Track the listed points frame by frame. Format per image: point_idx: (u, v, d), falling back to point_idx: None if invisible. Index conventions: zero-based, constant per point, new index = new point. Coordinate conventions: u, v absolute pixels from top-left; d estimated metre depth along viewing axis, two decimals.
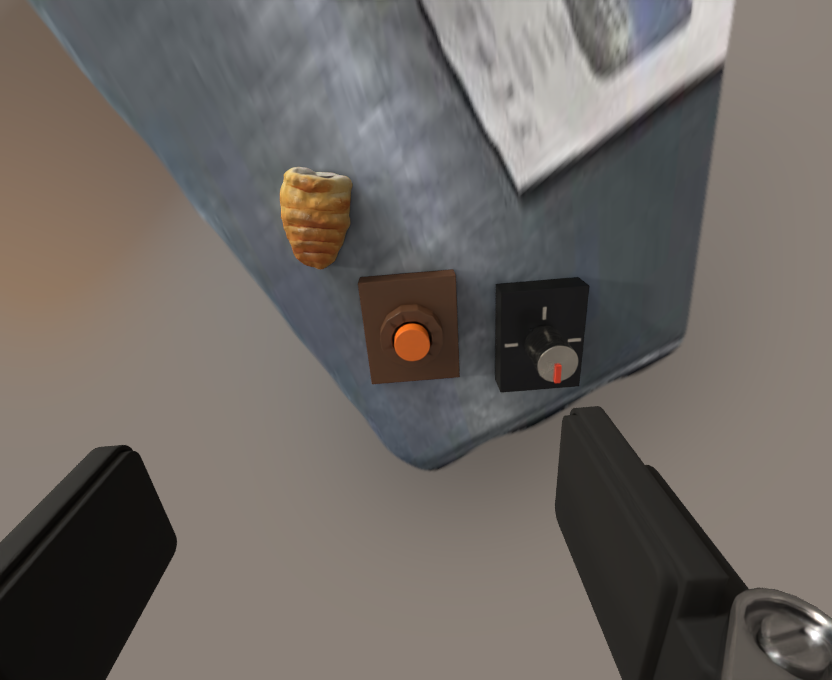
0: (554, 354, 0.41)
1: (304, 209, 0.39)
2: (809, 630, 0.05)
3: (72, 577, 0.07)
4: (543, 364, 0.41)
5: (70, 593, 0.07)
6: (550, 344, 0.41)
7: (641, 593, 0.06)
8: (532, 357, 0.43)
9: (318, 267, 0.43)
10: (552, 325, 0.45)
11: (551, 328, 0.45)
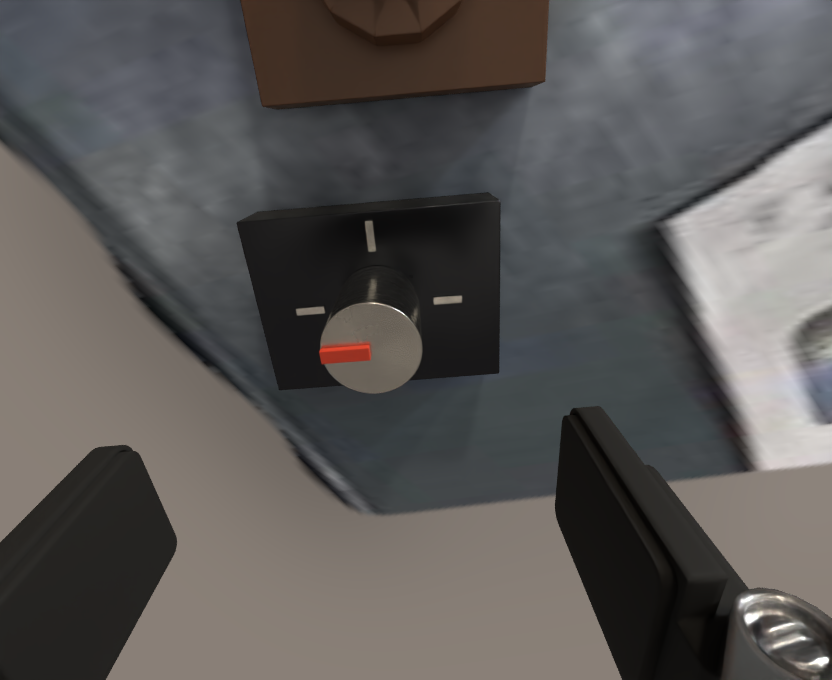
0: (399, 338, 0.16)
1: None
2: (809, 630, 0.05)
3: (72, 577, 0.07)
4: (371, 315, 0.16)
5: (70, 593, 0.07)
6: (418, 325, 0.17)
7: (641, 593, 0.06)
8: (368, 287, 0.17)
9: None
10: None
11: None
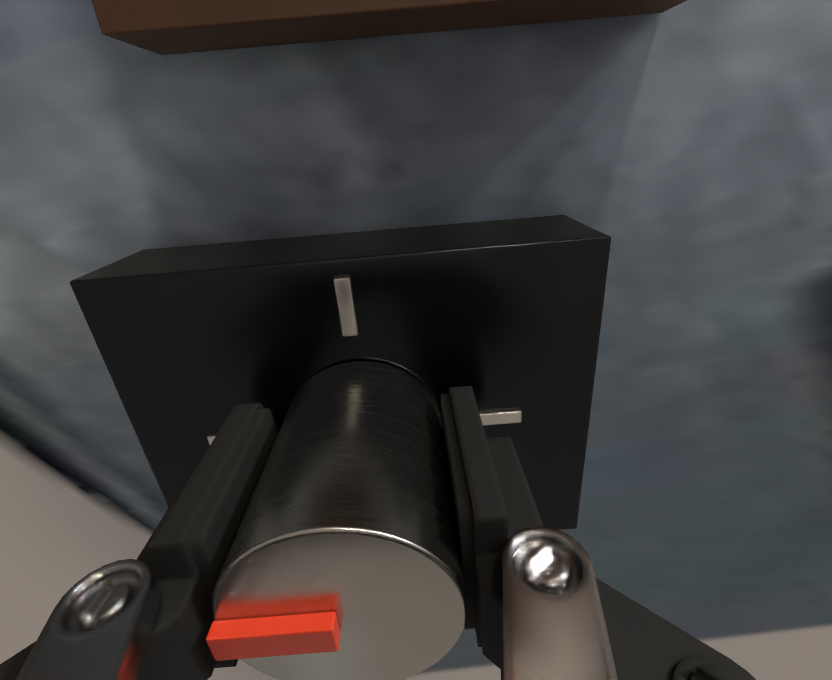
0: (410, 598, 0.07)
1: None
2: (555, 549, 0.06)
3: (243, 509, 0.08)
4: (339, 556, 0.06)
5: None
6: (454, 547, 0.07)
7: (459, 537, 0.07)
8: (337, 446, 0.08)
9: None
10: None
11: None
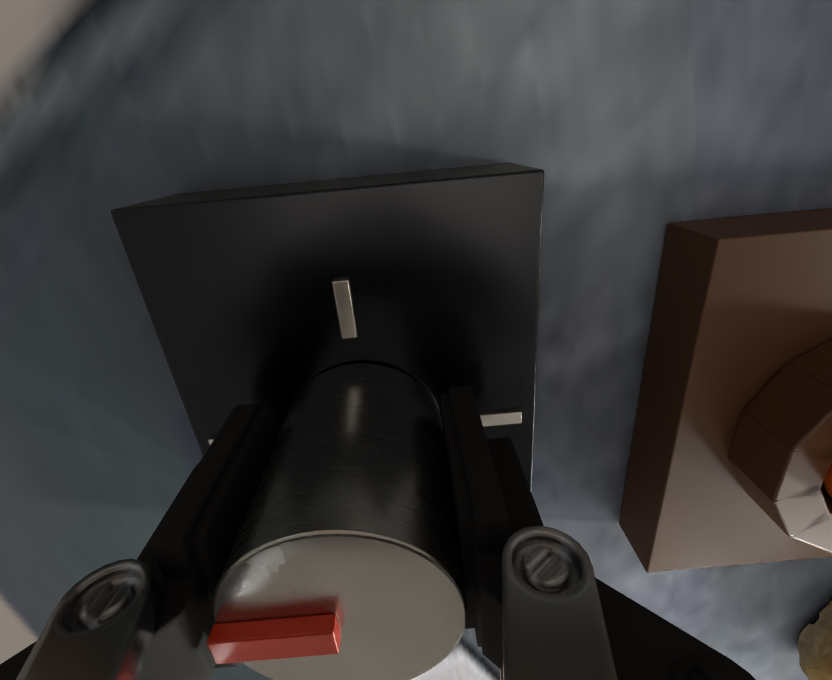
0: (410, 600, 0.07)
1: None
2: (554, 549, 0.06)
3: (244, 509, 0.08)
4: (338, 559, 0.06)
5: None
6: (454, 548, 0.07)
7: (459, 537, 0.07)
8: (336, 448, 0.08)
9: None
10: None
11: None
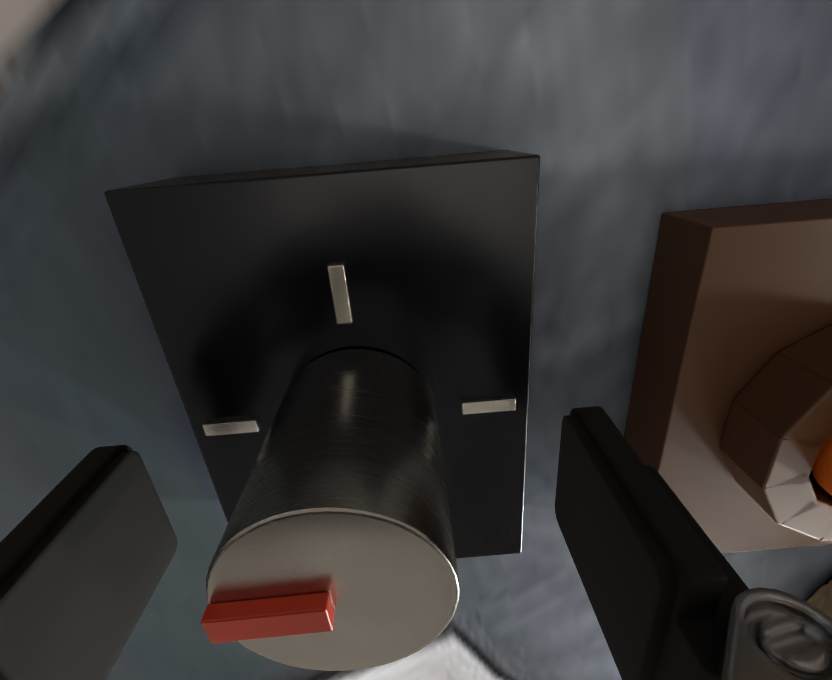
0: (402, 577, 0.07)
1: None
2: (809, 630, 0.05)
3: (72, 577, 0.07)
4: (328, 536, 0.06)
5: (70, 593, 0.07)
6: (446, 526, 0.07)
7: (641, 593, 0.06)
8: (328, 430, 0.08)
9: None
10: None
11: None
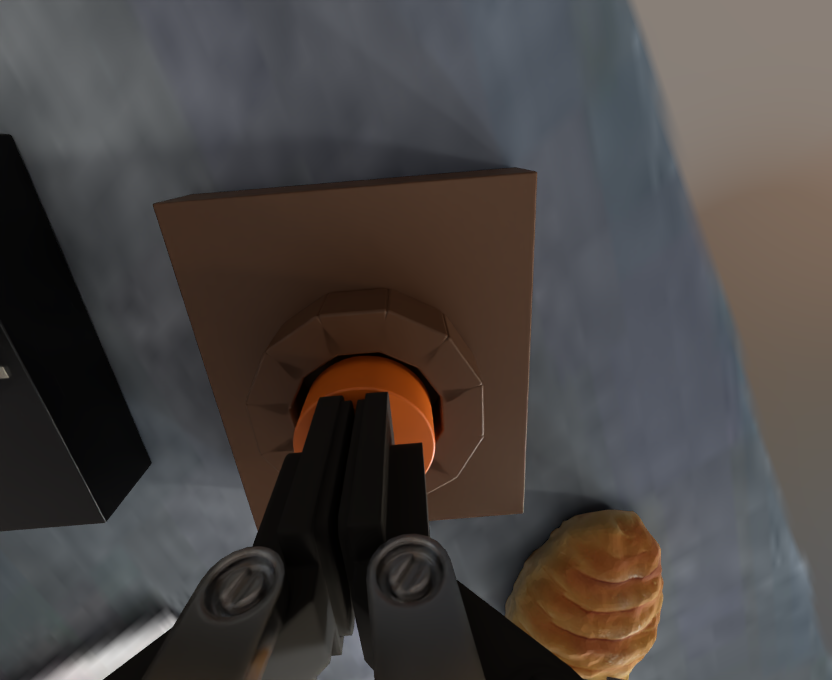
0: None
1: (614, 668, 0.18)
2: (416, 554, 0.06)
3: None
4: None
5: None
6: None
7: None
8: None
9: (615, 538, 0.17)
10: None
11: None
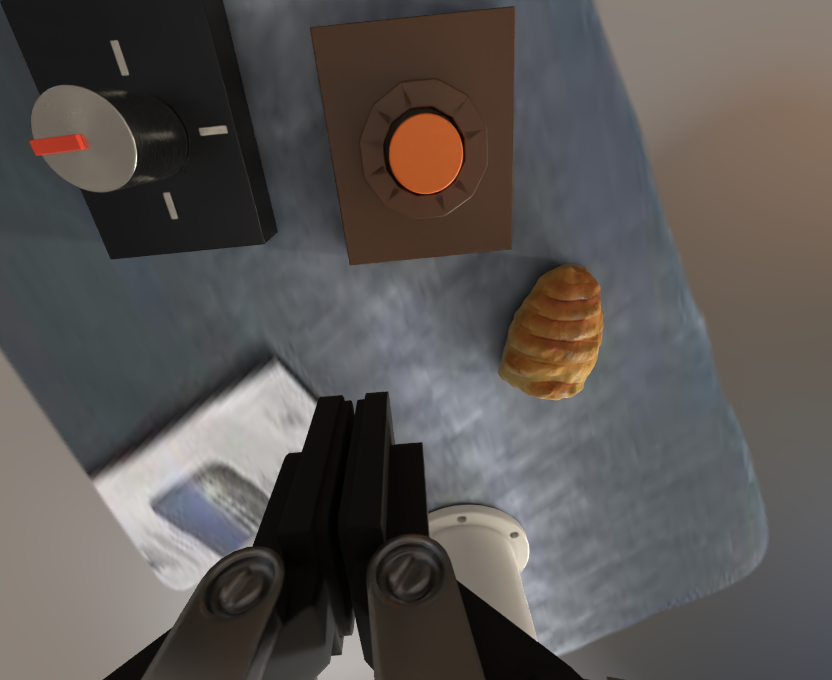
0: (106, 126, 0.17)
1: (571, 364, 0.28)
2: (417, 554, 0.06)
3: None
4: (71, 100, 0.17)
5: None
6: (132, 118, 0.18)
7: None
8: None
9: (569, 272, 0.27)
10: None
11: (182, 146, 0.21)
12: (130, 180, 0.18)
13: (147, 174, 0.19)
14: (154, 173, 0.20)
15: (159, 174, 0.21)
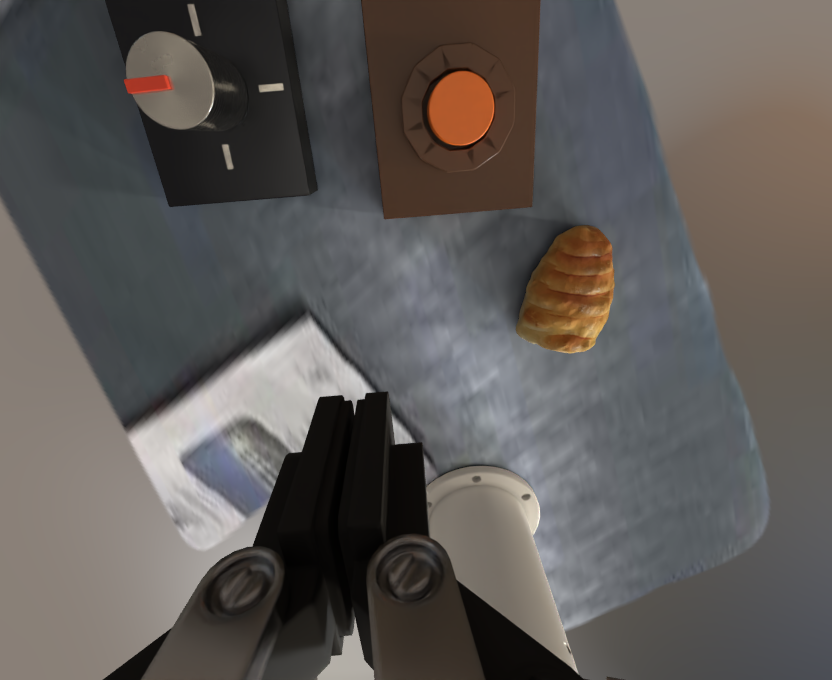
0: (191, 69, 0.20)
1: (585, 317, 0.31)
2: (416, 554, 0.06)
3: None
4: (162, 44, 0.19)
5: None
6: (211, 64, 0.20)
7: None
8: None
9: (584, 231, 0.30)
10: None
11: (244, 100, 0.24)
12: (206, 119, 0.21)
13: (217, 118, 0.22)
14: (222, 119, 0.23)
15: (225, 122, 0.23)
